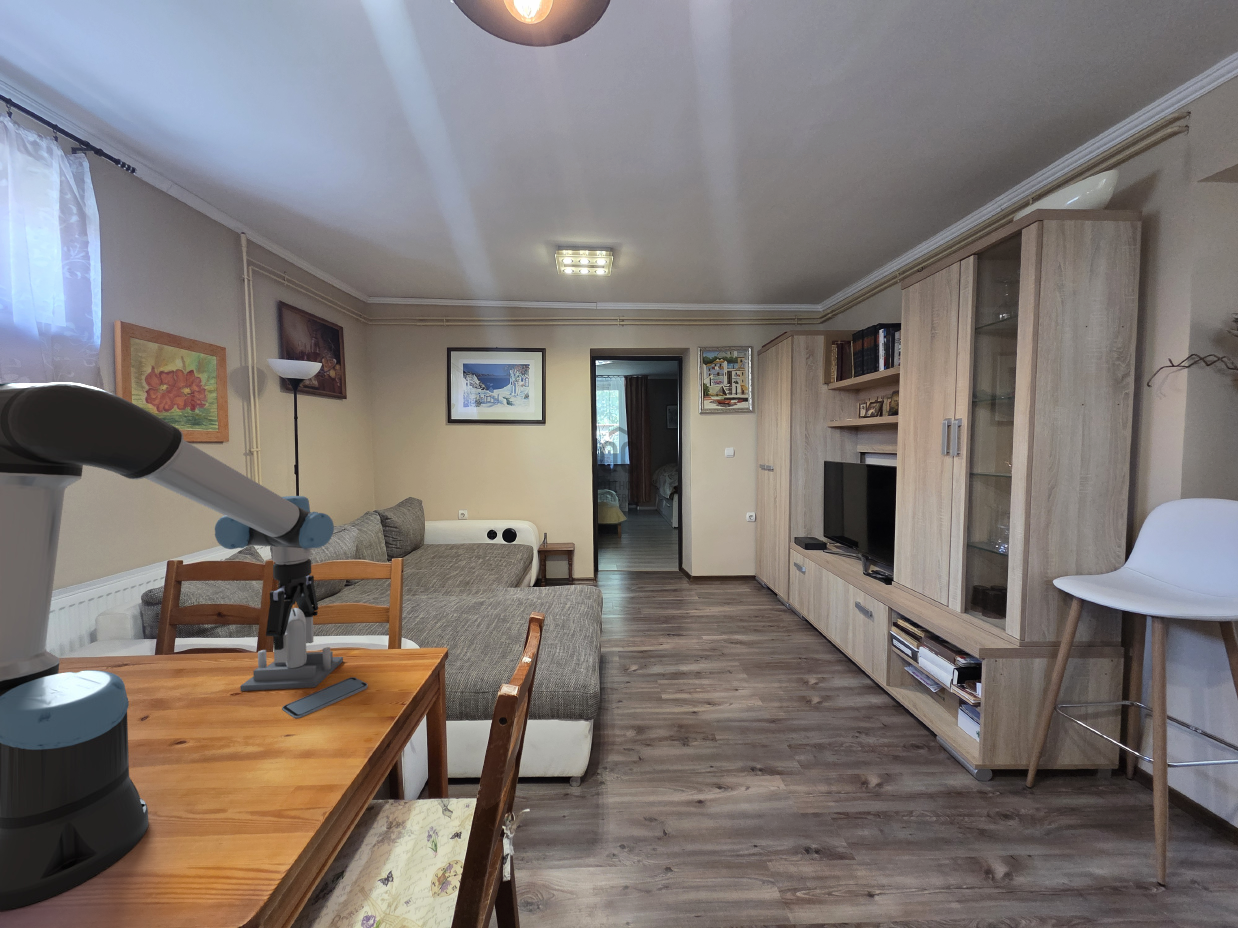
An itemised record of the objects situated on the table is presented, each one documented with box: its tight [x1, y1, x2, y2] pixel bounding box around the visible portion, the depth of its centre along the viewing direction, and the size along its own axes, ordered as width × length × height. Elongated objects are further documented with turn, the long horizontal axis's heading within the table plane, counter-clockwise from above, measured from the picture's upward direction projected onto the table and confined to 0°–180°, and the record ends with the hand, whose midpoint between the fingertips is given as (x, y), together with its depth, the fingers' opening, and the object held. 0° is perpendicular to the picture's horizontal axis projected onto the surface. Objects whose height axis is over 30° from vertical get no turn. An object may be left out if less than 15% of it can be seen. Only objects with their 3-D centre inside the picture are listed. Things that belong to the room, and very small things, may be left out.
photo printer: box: [285, 607, 307, 668], centre depth 112 cm, size 10×4×12 cm, turn 39°
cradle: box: [239, 646, 344, 692], centre depth 112 cm, size 13×16×6 cm
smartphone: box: [281, 676, 368, 719], centre depth 102 cm, size 7×1×15 cm
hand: (294, 651), depth 112 cm, fingers closed on photo printer, 10 cm apart
